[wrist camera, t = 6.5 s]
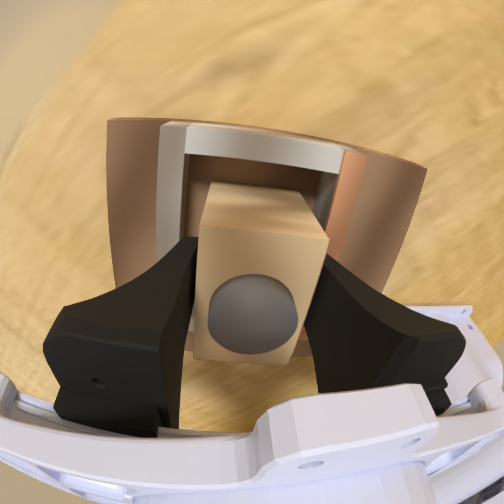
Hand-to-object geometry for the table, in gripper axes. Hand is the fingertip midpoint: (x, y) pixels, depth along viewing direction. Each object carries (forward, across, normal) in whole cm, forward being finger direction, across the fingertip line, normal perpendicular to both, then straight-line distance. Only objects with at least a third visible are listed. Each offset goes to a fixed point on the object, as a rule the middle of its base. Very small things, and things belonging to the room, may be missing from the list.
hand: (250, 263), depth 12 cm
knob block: (+3, 0, 0) cm, 3 cm away
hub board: (+4, -1, +2) cm, 5 cm away
